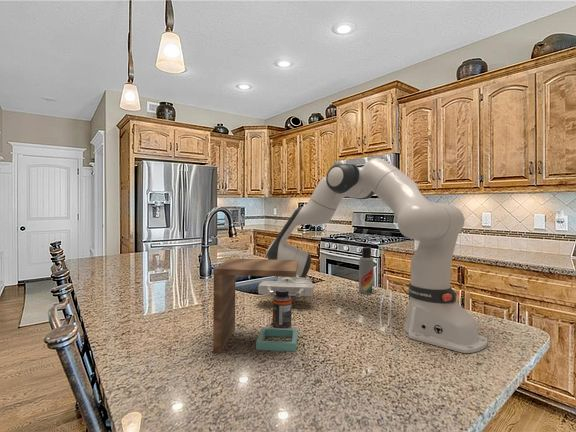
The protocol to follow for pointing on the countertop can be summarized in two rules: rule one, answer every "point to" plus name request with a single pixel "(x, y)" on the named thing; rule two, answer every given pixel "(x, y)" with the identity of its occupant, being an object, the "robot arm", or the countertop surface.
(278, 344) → the socket
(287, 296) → the supplement bottle
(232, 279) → the wooden l-shaped bracket
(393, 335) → the countertop surface
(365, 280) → the lotion bottle
